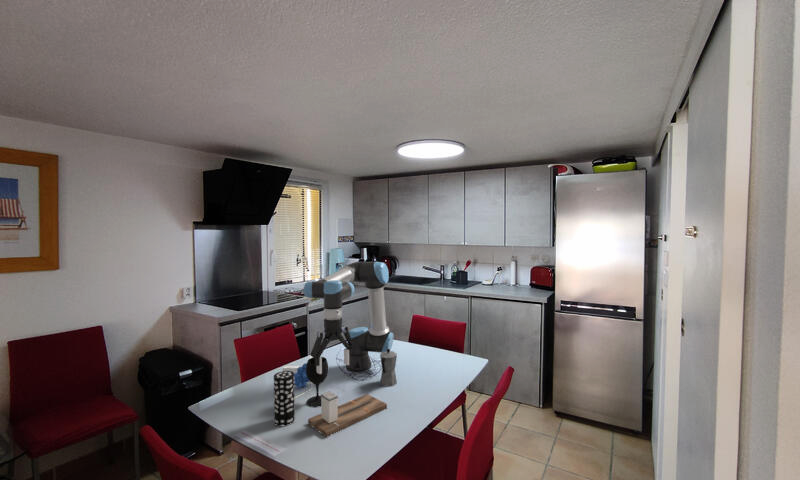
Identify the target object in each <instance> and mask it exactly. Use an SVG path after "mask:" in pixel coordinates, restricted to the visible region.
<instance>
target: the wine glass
mask: <svg viewBox="0 0 800 480" xmlns="http://www.w3.org/2000/svg"><path fill="white" fill-rule="evenodd" d="M321 357H322V374H319V373H317V366H316V365H315V358H314V357H310V358H309V359H308V360H307V361H306V363H307V365H306V376H307V378H308V380H309V382H310V383H311V384H313V385H314V386H315V390H316V395H315V396H312V397H310V398H308V399H307V400H306V402H305V403H306V405H307V406H308V405H309V407H311V406H313V407H312V408H318V407H317V406H320V407H321V395H319V388H320V385H321V384H322V383H324V381H326V379H327V377H328V375H329V363H328V360H327V358H326V357H325V356H321Z"/></svg>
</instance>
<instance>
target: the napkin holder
mask: <svg viewBox="0 0 800 480" xmlns="http://www.w3.org/2000/svg"><path fill="white" fill-rule="evenodd" d="M300 366H301V367H302V365H298V366H297V365H296V366H294V365H287V366H285V365H284V366H283V367H282V371H292V372H294V374H295V373H298V372H297V369H298V367H300Z"/></svg>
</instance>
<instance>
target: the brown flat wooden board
mask: <svg viewBox="0 0 800 480" xmlns="http://www.w3.org/2000/svg"><path fill="white" fill-rule="evenodd" d="M337 406H338V420H336V421H334V422H331V423H328V422H327V421H325V420H324V419H322V415H321V413H319V414H317V415H314V416H313V417H310V418H308V419H307V423H309V424H310V427H312V426H313V427H314V428H313V427H312V428H313V429H314V430H316V429H317V430H318V431H317V430H316V431H317V432H319V431H320V432H321V433H322V434H323V435H322V434H321V433H320V432H319V433H320V434H321V435H322V436H324V435H325V436H326V437H327V436H329V437H331V436H332V435H331V434H333V435H335V434H337V433H339V432H341V431H343V430H345V429H348V428H349V427H351V426H354V425H355V424H357V423H359V422H361V421H364V420H366V419H367V418H369V417H371V416H373V415H377V414H378V413H380V412H383V411H385V410H386V409H387V408H388V404H387V403H386V402H383V401H382V400H380V399H378V398H376V397H375V396H372V395H370V394H368V393H366V394H364V395H360V397H357V398H355V399H352V400H350V401H347V402H345V403H342V404H341V405H337ZM309 424H308V425H309ZM342 429H343V430H342ZM340 430H341V431H340ZM338 431H339V432H338ZM336 432H337V433H336ZM334 433H335V434H334ZM330 435H331V436H330ZM325 436H324V437H325ZM326 437H325V438H326ZM327 438H328V437H327Z"/></svg>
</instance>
